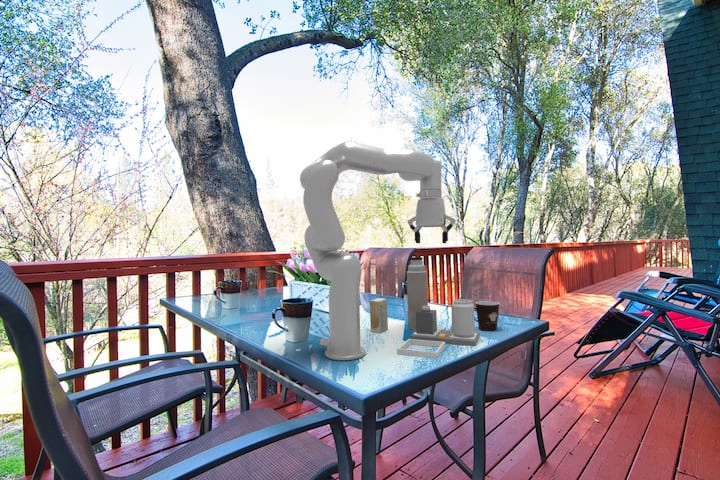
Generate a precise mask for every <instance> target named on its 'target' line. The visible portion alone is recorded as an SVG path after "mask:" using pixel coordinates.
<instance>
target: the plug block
mask: <svg viewBox="0 0 720 480" xmlns="http://www.w3.org/2000/svg"><path fill="white" fill-rule="evenodd" d="M437 318H438V317H437V309H431V306H430V305H429V304H428V305H424V306H422V309H420V310H418V311H417V312H416V330H415V331H416V333H418V334H430V335H433V334H434V333H435V332H436V331H437V330H438V326H437V325H438V323H437V322H438V319H437Z"/></svg>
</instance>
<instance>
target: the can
mask: <svg viewBox="0 0 720 480" xmlns="http://www.w3.org/2000/svg"><path fill="white" fill-rule="evenodd" d="M452 302H453V303H452V304H451V331H452V333H453V334H454V335H455V336H458V337H471V336H472V335H473V334H475V332H476V330H475V320H474V319H475V309H474V308H475V305H474V304H473V300H472V299H462V298H461V299H459V298H458V299H454V300H452Z"/></svg>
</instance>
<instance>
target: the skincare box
mask: <svg viewBox="0 0 720 480" xmlns="http://www.w3.org/2000/svg"><path fill="white" fill-rule="evenodd" d="M369 311H370V312H369V318H370V332H372V333H376V334H380V333H381V334H382V333H383V332H385V331H387V330H389V326H388V325H389V323H388V322H389V320H388V319H389V318H388V299H387V298H381V297H380V298H379V297H377V298H374V299H371V300H369Z"/></svg>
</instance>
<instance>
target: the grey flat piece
mask: <svg viewBox="0 0 720 480" xmlns="http://www.w3.org/2000/svg"><path fill="white" fill-rule="evenodd" d="M480 338H481V332H476V331H475V334H473V335H472V336H471V337H458V336H455V335H454V334H453V333H452V330H449V329H437V331H436V332H435V333H434V334H433V335H430V334H418V333H416V330H414V332H413V333H411V334H410V335H409V339H417V340H429V341H440V342H445V345H446V344H447V345H456V346H457V345H458V346H459V345H460V346H470V347H476V346H477V344H478V342H479V340H480Z"/></svg>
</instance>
